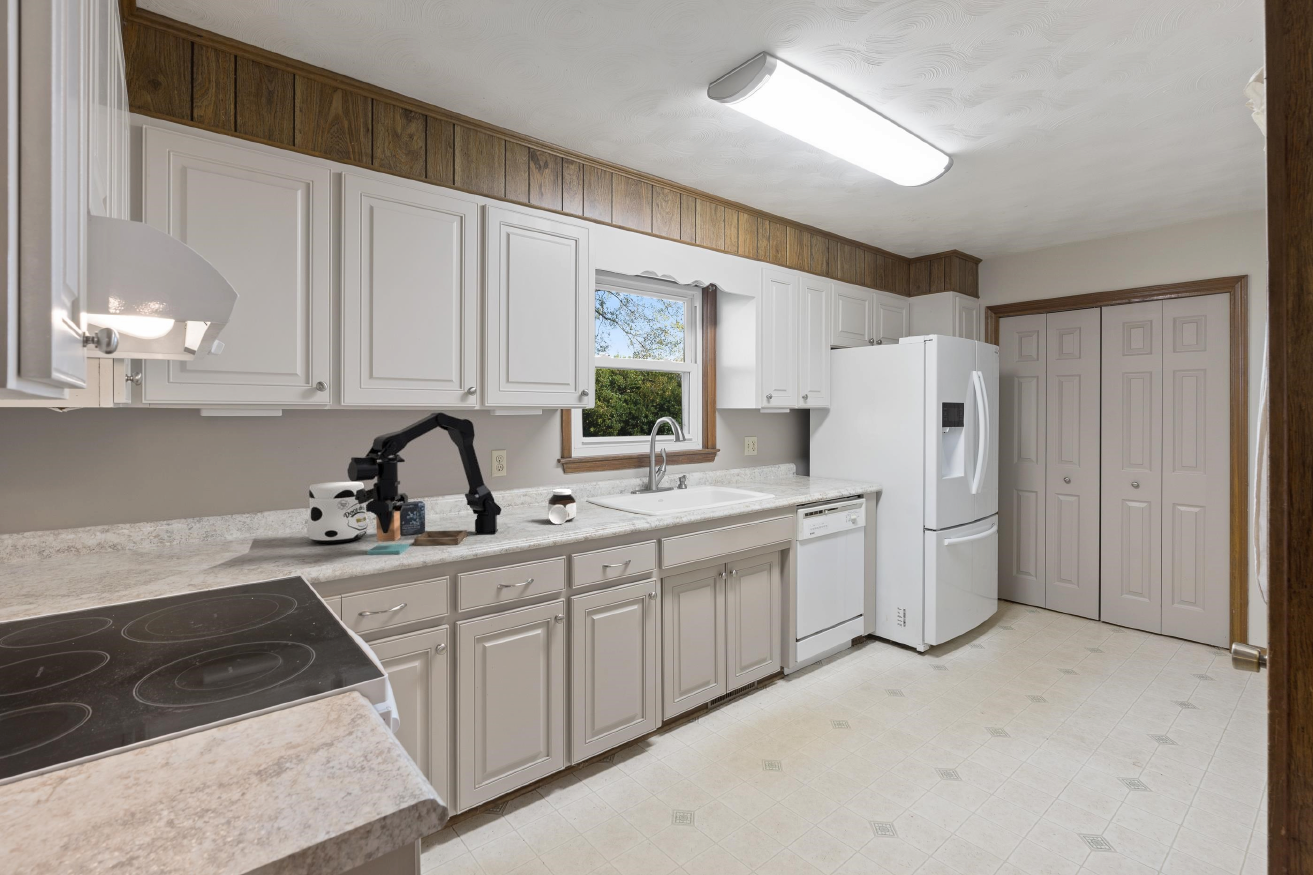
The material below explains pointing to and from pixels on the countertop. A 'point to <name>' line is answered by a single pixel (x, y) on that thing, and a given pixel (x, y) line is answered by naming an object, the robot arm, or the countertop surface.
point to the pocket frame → (427, 540)
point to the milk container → (336, 513)
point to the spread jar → (561, 506)
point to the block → (393, 529)
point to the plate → (388, 549)
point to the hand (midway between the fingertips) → (388, 531)
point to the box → (412, 518)
